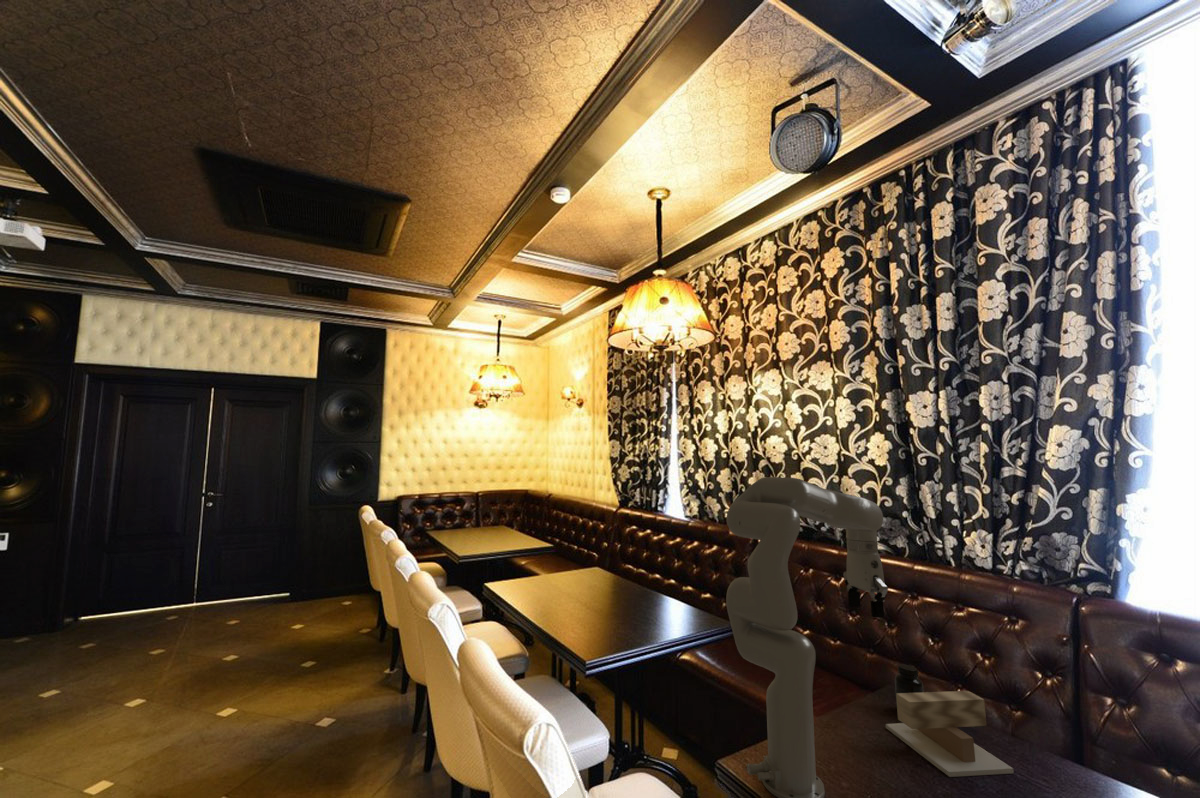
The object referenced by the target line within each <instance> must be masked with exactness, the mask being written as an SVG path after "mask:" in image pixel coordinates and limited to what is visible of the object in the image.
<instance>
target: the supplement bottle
mask: <svg viewBox="0 0 1200 798" xmlns="http://www.w3.org/2000/svg"><path fill="white" fill-rule="evenodd" d="M897 673H898V674H896V675H895V677H894V684H895V685H894V686H895V687H894V690H895V694H896V693H922V692H925V690H924V684H923V681H922V680H921V679H920V678H919V676H920V675H919V670H918V668H917V667H916V666H913V665H909V664H905V663H902V664H901V663H899V664H898V665H897ZM895 702H896V704H895V705H896V706H897V698H896V697H895Z"/></svg>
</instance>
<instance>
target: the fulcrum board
mask: <svg viewBox="0 0 1200 798" xmlns="http://www.w3.org/2000/svg"><path fill="white" fill-rule="evenodd" d="M885 729H887V730H888V731H889V732H891V734H893V735H894V736H895V737H896V738H898V739H900V740H901V741H902V742H904V743H905V744H906V745H908V747H910V748H911V749H912V750H914V752H916V753H918V754H919V755H920V756H922V757H923V758H924V759H925V760H926V761H928V762H929V763H931V764H932V765H933V766H935V768H937V769H938V770H939V771H941V772H942V773H943V774H945V775H946V776H948V777H949V778H952V777H953V778H955V777H970V776H971V777H973V776H974V777H975V776H988V775H989V776H990V775H1007V774H1010V775H1011V774H1014V773H1015V772H1014V767H1011V766H1010V765H1009V764H1007V763H1005V762H1004V761H1003V760H1001V759H999V758H998V757H996V756H995V755H993V754H992V753H990V752H989V751H986V750H985V749H984V748H982V747H981V746H979V745H977V744H976V743H975V740H974V737H973V736H971V735H969V734H967V733H966V732H965V731H963V730H962V729H960V728H959V727H948V728H926V729H911V728H909V727H908V726H907V725H905V724H904V723H903V722H898V723H886V724H885Z"/></svg>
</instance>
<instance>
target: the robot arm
mask: <svg viewBox="0 0 1200 798" xmlns="http://www.w3.org/2000/svg"><path fill="white" fill-rule="evenodd" d="M801 517H802V518H806V519H808V520H812V521H813V522H818V523H825V524H827V525H829V526H830V527H833V528H836V529H842V530H843V529H844V530H845V535H846V550H847V553H846V571H844V572H843V573H842V574H843V578H844V583H845V586H846V591H847V602H848V606H849V607H851V608H853V607H855V608H856V607H857V608H860V607H861V592H860V590H861V591H864V592H868V594H869V596H870V598H871V600H870V613H871V614H870V615H871V617H873V618H884V617H885V606H884V602H885V601H886V600H885V599H886V598H887V594H888V591H889V588H888V586H887V585H886V584H885V576H884V569H883V564H882V559H881V555H880V554H879V545H878V544H879V543H878V533H877V532H878V531H879V530H880V529H881V527H882V526H883V524H884V514H883V511H882V509H881V507H880V506H879V505H878V504H877V503H875V502H874V501H872V500H869V499H867V498H864V497H861V496H858V495H857V496H856V495H854V494H852V495H851V494H849V493H843V492H840V491H836V490H831V489H826V488H823V487H821V486H819V485H816V484H813V483H810V482H808V481H805V480H803V479H800V478H797V477H796V478H795V477H782V476H781V477H780V476H779V477H777V476H776V477H774V476H765V477H762V478H760V479H757V480H756V481H754V483H752V484H751V485H750V486H749V487H747V488H746V489H745V490H744V491H743V492H742V493H741V494H740V495H739V496H738V497H737V498H736V499H735V500H734V501H733V502H732V503H731V505H730V506H729V508H728V510H727V512H726V525H727V527H728V529H729V531H730V532H731V533H733V534H734V535H736V536H738V537H739V538H746V539H752V540H760V541H759V542H758V543H757V545H756V546H755V548H754V550H753V551H751V554H750V556H749V557H748V561H747V573H748V576H746V577H745V576H739V577H736V578H735V579H733V580H732V581H731V582H730V584H729V585H728V588H727V591H726V595H725V596H726V598H725V602H726V604H725V605H726V610H727V615H728V619H729V623H730V627H731V630H732V634H733V635H732V636H733V639H734V642H735V645H736V649H737V651H738V653H739V655H740V656H741V657H742V658H743V659H744V660H745V661H747V662H749V663H751V664H754V665H757V666H758V667H761V668H764V669H766V670H768V671H770V672H772V673H774V674H775V675H774V676H775V677H774V679H773V680H772V681H771V683H769V685H768V687H767V690H766V697H765V699H766V702H765V703H766V722H767V723H766V724H767V725H766V727H767V728H766V729H767V731H766V733H767V755H763V761H760V762H759V763H755V762H754V763H747V764H746V771H747V774H748V775H749V776H755V775H757V779H758V781H759V782H762V784H763V785H764V787H765V789H766V790H767V791H769V792H770V793H771V794H772V795H773V796H774V797H776V798H825V794H826V793H825V785H824V782H823V781H822V780H821V778H820V777H819V776H818V775H816V774H817V773H816V771H817V769H816V753H815V752H816V751H815V748H816V745H815V727H814V725H815V724H814V709H813V708H814V707H813V705H814V704H813V684H814V674H815V673H814V672H815V667H816V658H817V657H816V649H815V647H814V645H813V643H812V642H811V640H810V639H809V638H808V637H807V636H805V635H804V634H802V633H800V632H798V631H795V630H792V629H793V628H795V626H796V624H797V621H798V616H799V615H798V608H797V603H796V599H795V594H794V589H793V586H792V581H791V578H790V573H789V559H790V558H789V557H790V555H791V552H792V550H793V547H794V544H795V542H796V540H797V538H798V536H799V533H800V529H801Z"/></svg>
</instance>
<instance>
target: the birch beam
mask: <svg viewBox="0 0 1200 798" xmlns="http://www.w3.org/2000/svg"><path fill="white" fill-rule="evenodd" d="M896 698H897V705H896V709H897V710H896V711H897V721H900V723H904V724H905V725H907V726H908V727H909V728H911V729H926V728H948V727H957V728H962V727H963V728H965V727H966V728H967V727H986V726H987V716H986V705H985V704H986V702H985V699H984V698H982V697H980V696H979V695H977V694H975V693H973V692H971V691H969V690H959V691H958V690H954V691H953V690H952V691H949V690H948V691H926V692H925V691H924V692H922V693H896V692H895V699H896Z"/></svg>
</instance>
